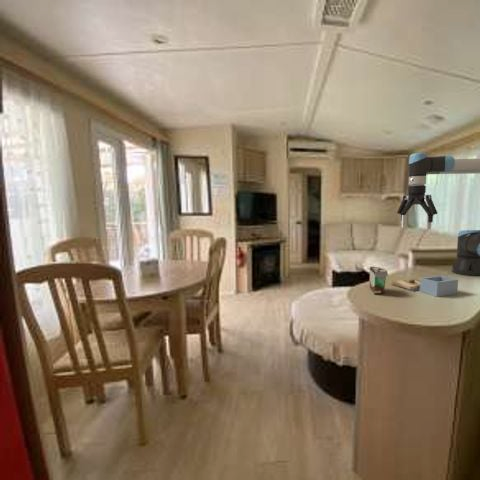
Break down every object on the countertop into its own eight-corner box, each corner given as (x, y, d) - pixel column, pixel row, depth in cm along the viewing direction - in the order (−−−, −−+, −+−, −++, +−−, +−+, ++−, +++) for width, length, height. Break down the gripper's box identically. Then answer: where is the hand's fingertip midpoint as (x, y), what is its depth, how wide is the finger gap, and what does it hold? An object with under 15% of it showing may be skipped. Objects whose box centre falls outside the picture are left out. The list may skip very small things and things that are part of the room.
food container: (390, 296, 131) (391, 272, 129) (374, 295, 132) (375, 272, 131) (383, 288, 143) (384, 266, 141) (368, 287, 144) (369, 266, 143)
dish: (439, 288, 141) (440, 275, 140) (457, 293, 133) (458, 279, 133) (419, 291, 137) (420, 278, 136) (436, 296, 129) (437, 282, 128)
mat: (410, 282, 153) (410, 280, 153) (433, 288, 141) (433, 286, 141) (391, 284, 148) (391, 283, 148) (413, 291, 137) (413, 289, 137)
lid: (412, 281, 152) (413, 276, 152) (431, 286, 142) (432, 281, 142) (392, 283, 147) (392, 278, 147) (410, 289, 138) (410, 284, 138)
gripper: (390, 186, 165) (389, 227, 168) (436, 183, 142) (434, 230, 145) (401, 186, 168) (400, 226, 171) (447, 183, 145) (445, 229, 148)
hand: (415, 228), depth 158 cm, fingers open, 13 cm apart
